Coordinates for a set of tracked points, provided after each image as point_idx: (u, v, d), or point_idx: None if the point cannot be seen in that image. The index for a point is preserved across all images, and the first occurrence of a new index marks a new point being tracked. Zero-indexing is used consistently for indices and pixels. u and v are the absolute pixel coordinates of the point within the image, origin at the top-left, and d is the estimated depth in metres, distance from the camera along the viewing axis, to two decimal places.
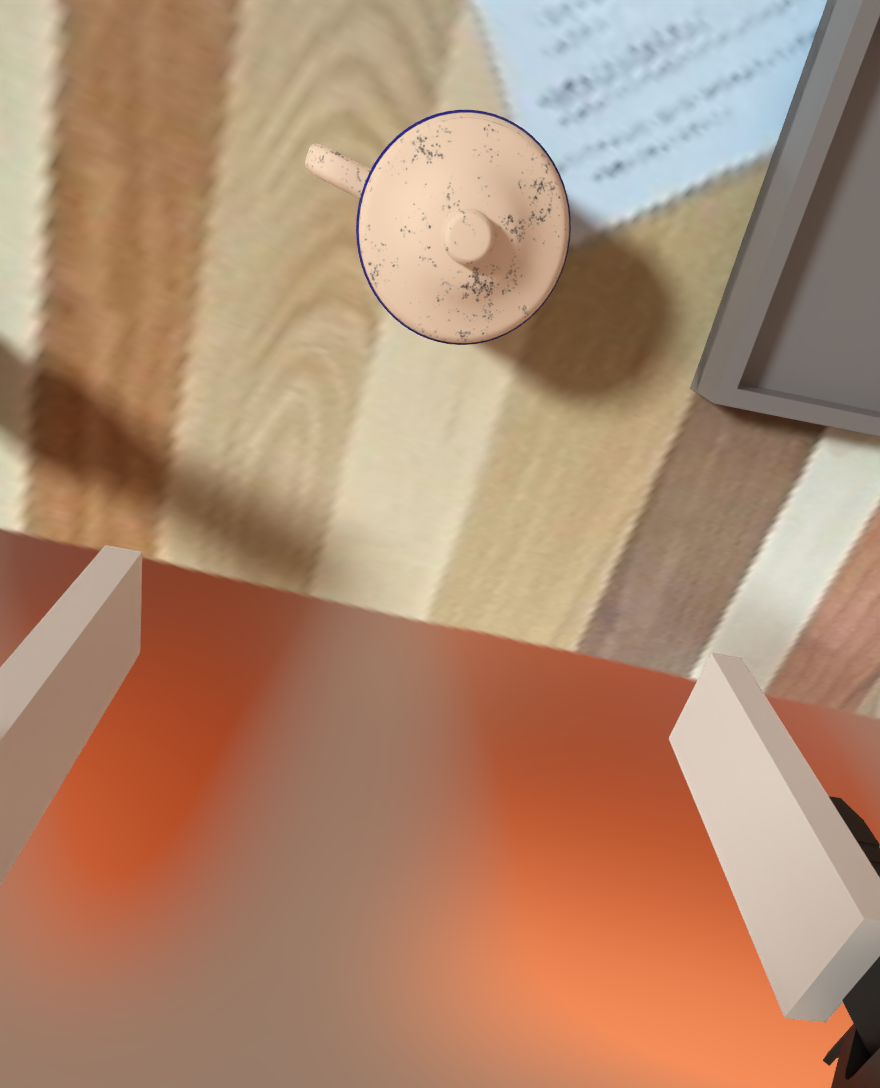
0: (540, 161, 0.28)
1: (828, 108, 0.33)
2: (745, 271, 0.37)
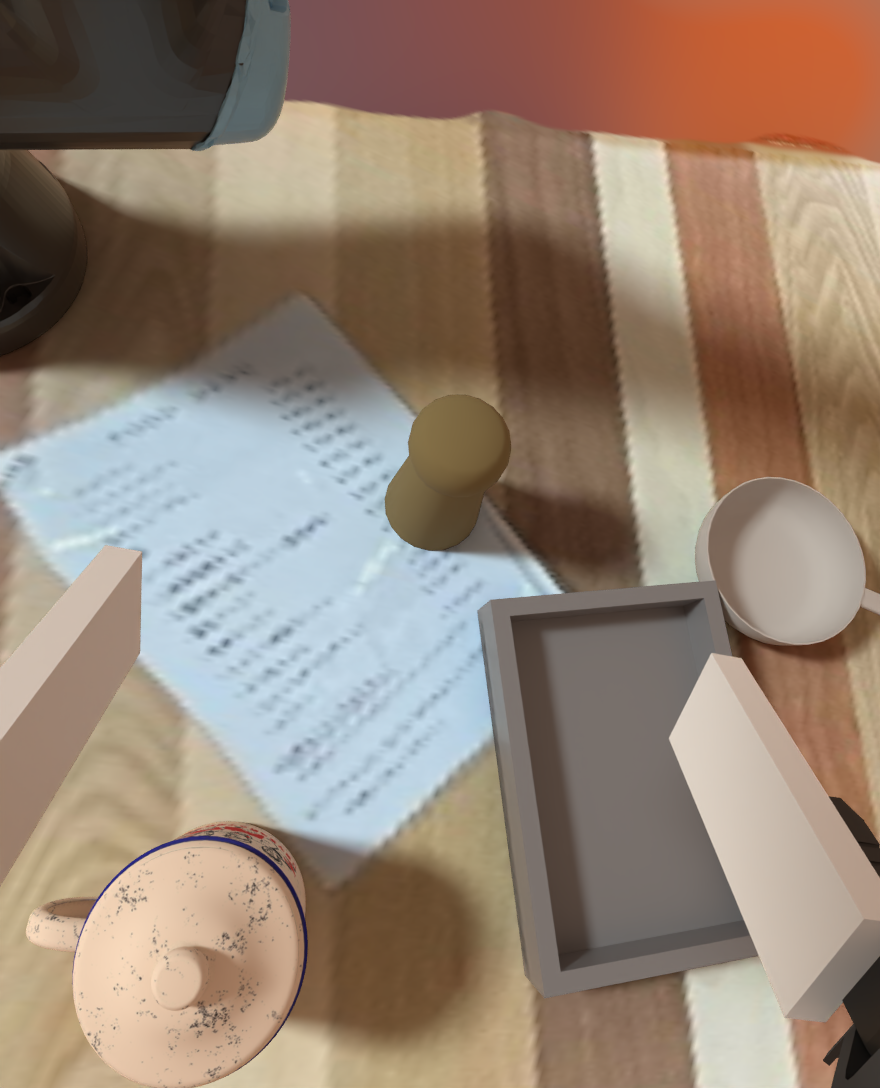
0: (247, 865, 0.29)
1: (509, 705, 0.38)
2: (515, 846, 0.38)
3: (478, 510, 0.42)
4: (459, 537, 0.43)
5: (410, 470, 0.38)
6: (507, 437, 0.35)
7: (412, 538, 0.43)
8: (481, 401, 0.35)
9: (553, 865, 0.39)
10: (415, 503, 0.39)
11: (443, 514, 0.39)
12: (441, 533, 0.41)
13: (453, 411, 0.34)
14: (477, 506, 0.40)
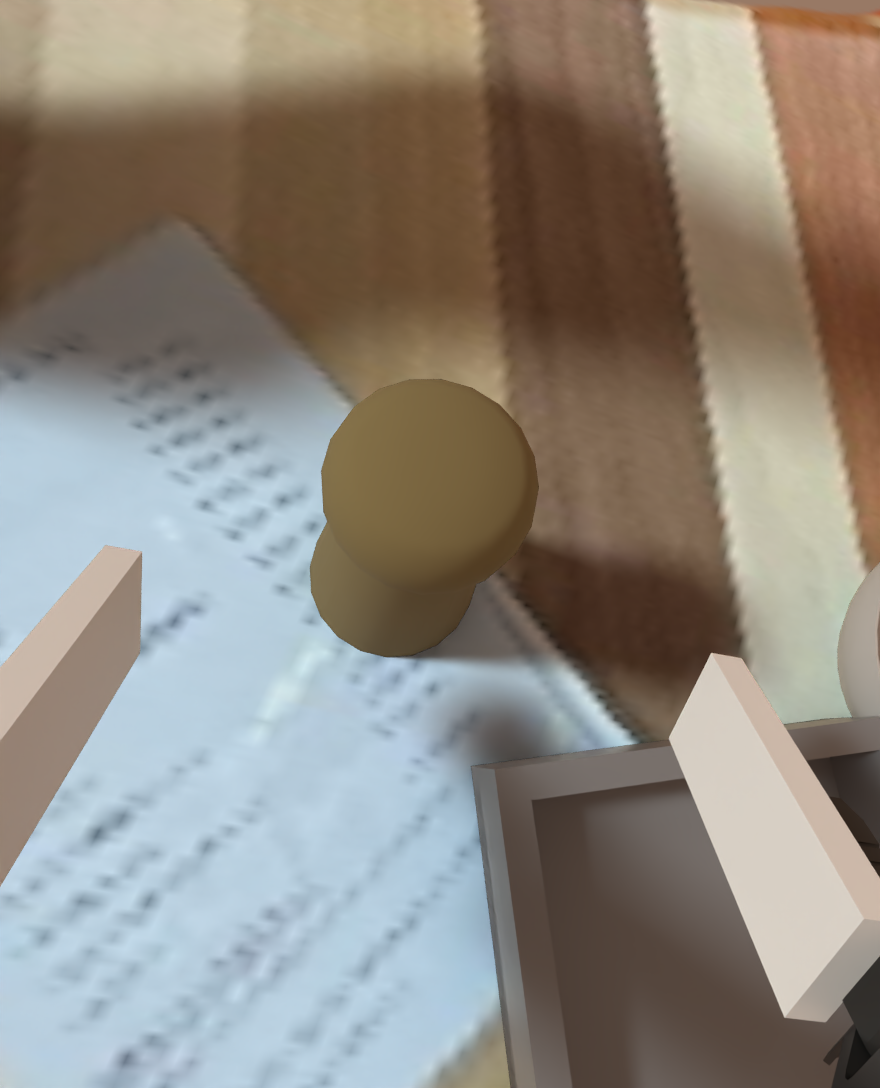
0: None
1: (532, 987, 0.20)
2: None
3: (472, 592, 0.23)
4: (438, 636, 0.24)
5: None
6: (531, 470, 0.16)
7: (354, 639, 0.24)
8: (474, 394, 0.16)
9: None
10: (350, 590, 0.20)
11: (404, 612, 0.20)
12: (403, 637, 0.23)
13: (414, 414, 0.16)
14: (469, 591, 0.22)
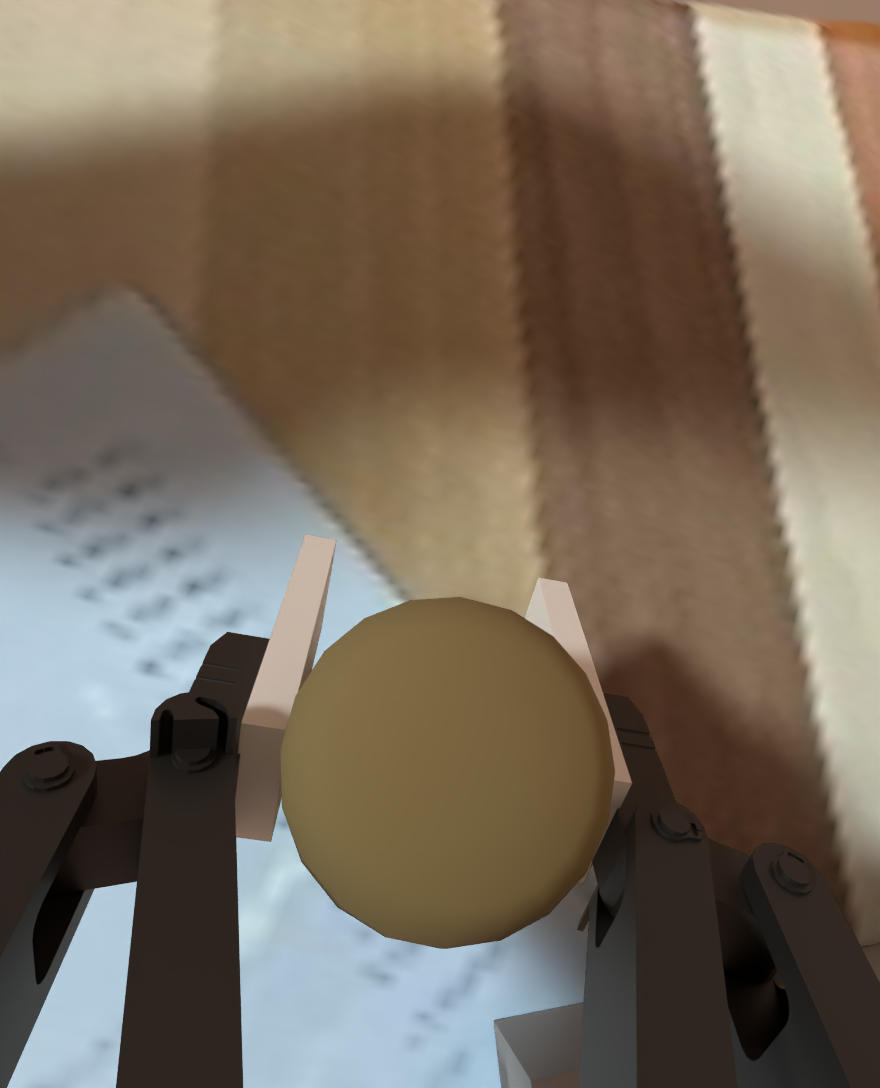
0: None
1: None
2: None
3: None
4: None
5: None
6: (606, 757, 0.10)
7: None
8: (518, 635, 0.10)
9: None
10: None
11: None
12: None
13: (424, 683, 0.10)
14: None
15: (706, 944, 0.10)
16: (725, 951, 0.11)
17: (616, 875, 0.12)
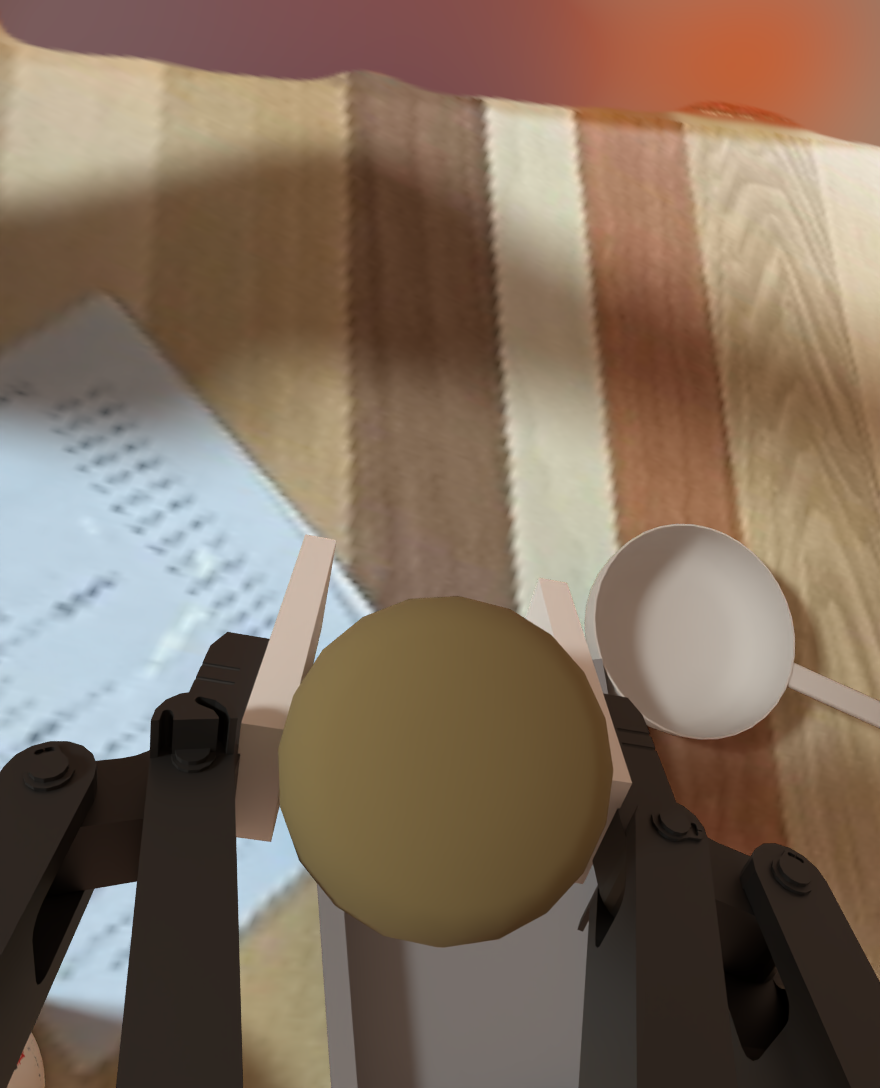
0: None
1: None
2: None
3: None
4: None
5: None
6: (605, 755, 0.10)
7: None
8: (516, 633, 0.10)
9: (380, 1034, 0.30)
10: None
11: None
12: None
13: (422, 682, 0.10)
14: None
15: (706, 944, 0.10)
16: (725, 951, 0.11)
17: (616, 875, 0.12)
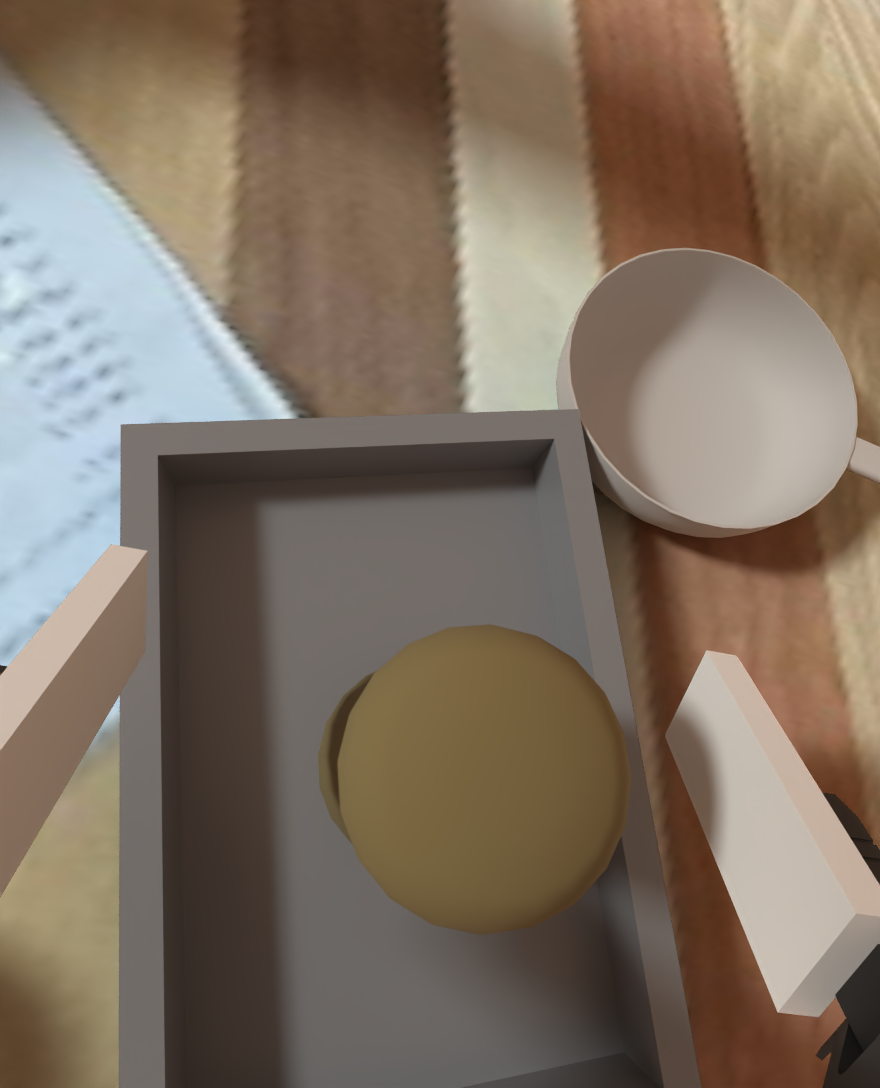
0: None
1: None
2: None
3: None
4: None
5: None
6: (624, 766, 0.12)
7: None
8: (545, 659, 0.12)
9: (228, 948, 0.19)
10: None
11: None
12: None
13: (466, 704, 0.11)
14: None
15: None
16: None
17: (876, 1007, 0.11)
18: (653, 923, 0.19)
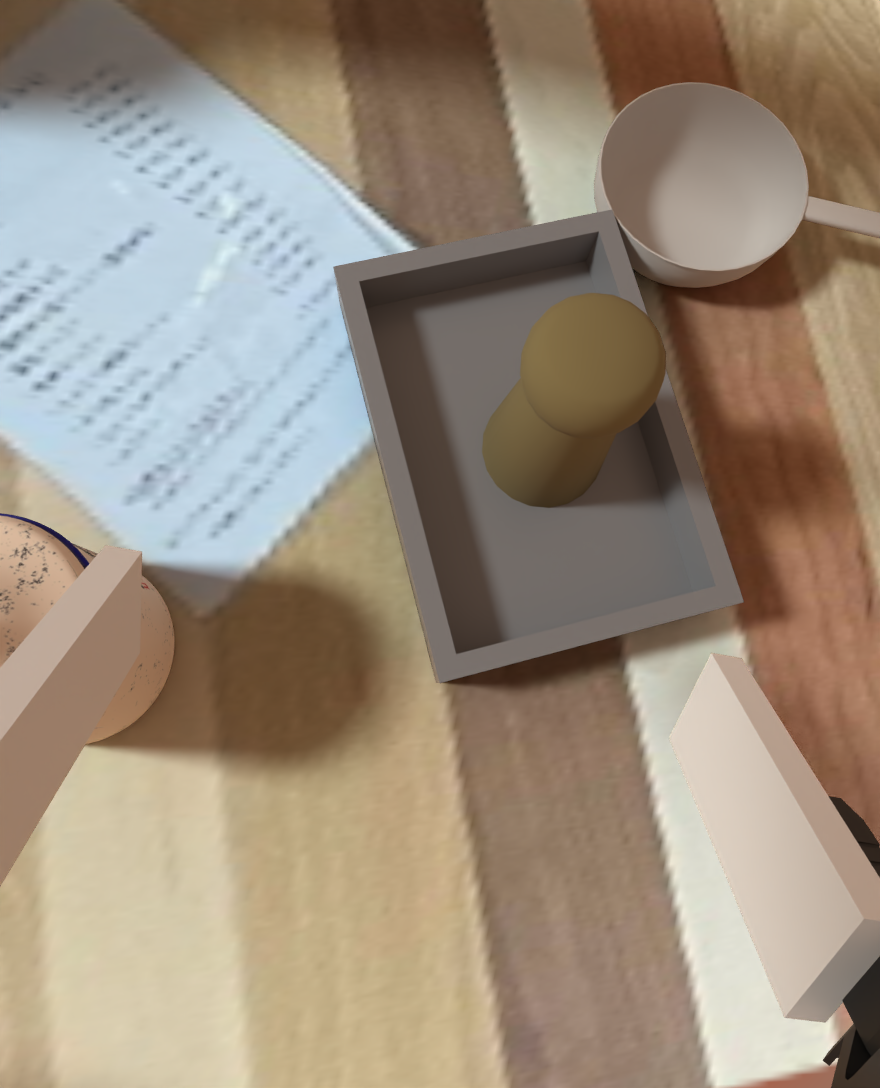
0: (17, 530, 0.24)
1: (367, 378, 0.32)
2: (401, 540, 0.33)
3: None
4: (587, 485, 0.33)
5: (522, 411, 0.28)
6: (660, 342, 0.25)
7: (526, 496, 0.33)
8: (616, 298, 0.25)
9: (453, 559, 0.33)
10: (532, 453, 0.29)
11: (572, 461, 0.29)
12: (566, 485, 0.32)
13: (581, 318, 0.24)
14: (611, 443, 0.30)
15: None
16: None
17: None
18: (698, 502, 0.32)
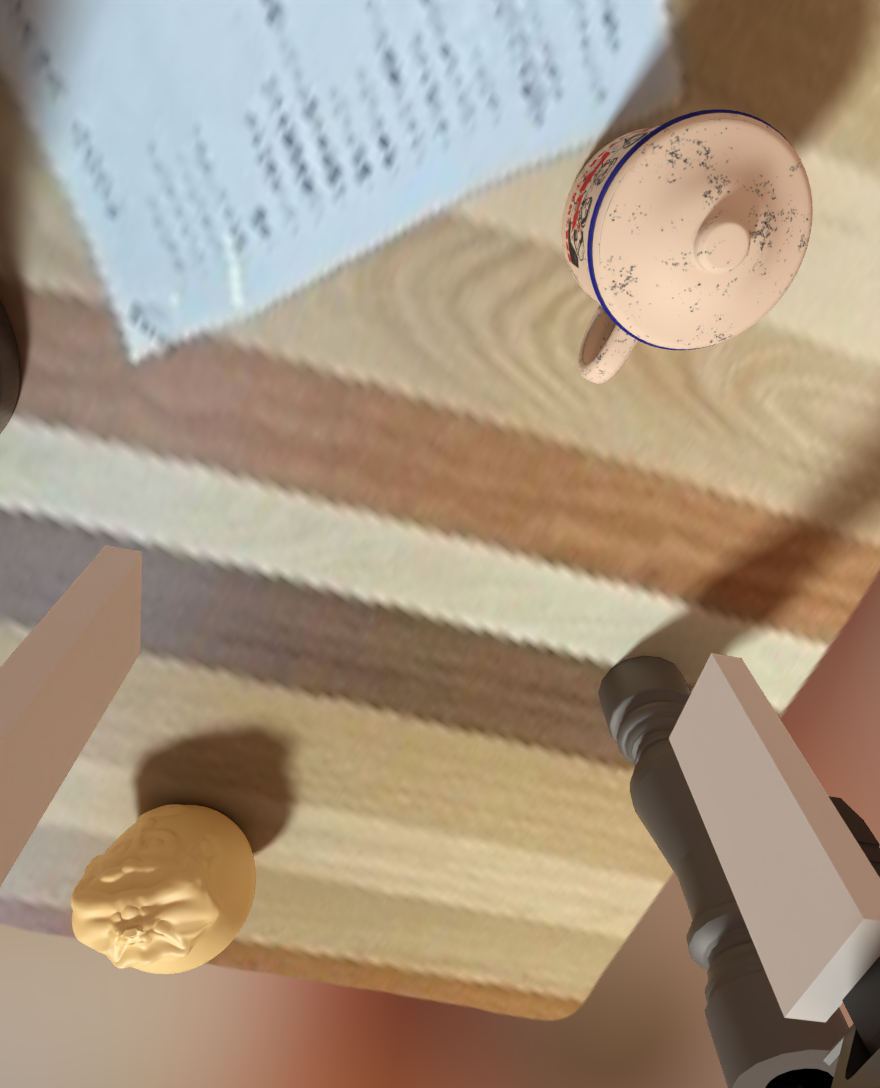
0: (649, 155, 0.27)
1: None
2: None
3: None
4: None
5: None
6: None
7: None
8: None
9: None
10: None
11: None
12: None
13: None
14: None
15: None
16: None
17: None
18: None
